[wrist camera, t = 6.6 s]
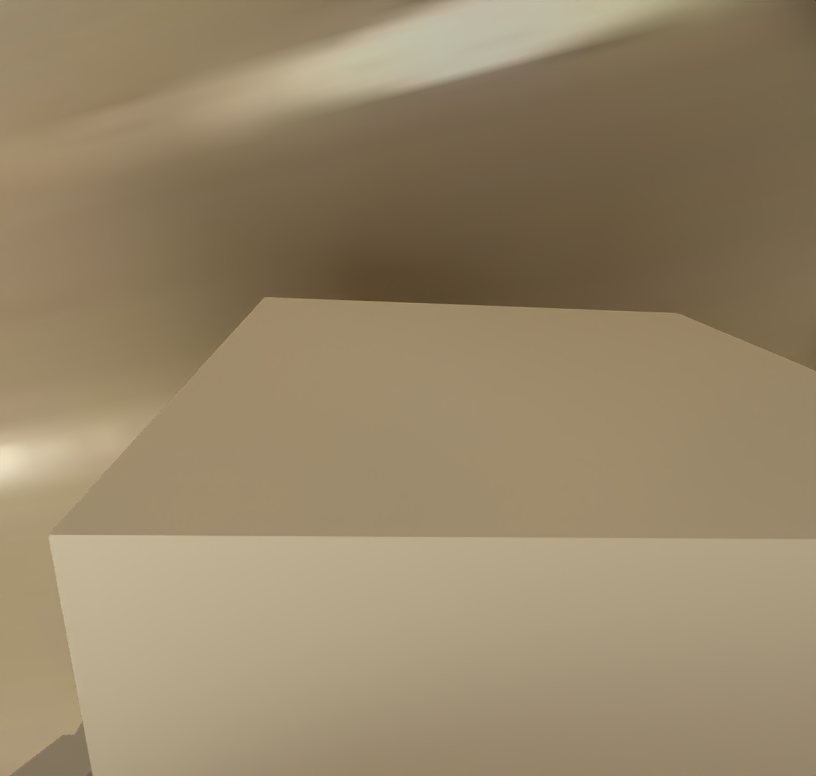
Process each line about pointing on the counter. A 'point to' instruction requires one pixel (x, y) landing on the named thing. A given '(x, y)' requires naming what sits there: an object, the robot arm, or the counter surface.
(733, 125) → the counter surface
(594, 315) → the matte white cuboid
